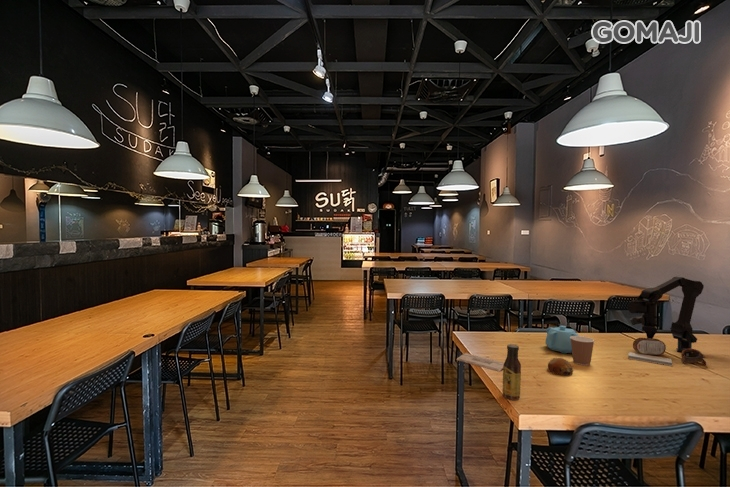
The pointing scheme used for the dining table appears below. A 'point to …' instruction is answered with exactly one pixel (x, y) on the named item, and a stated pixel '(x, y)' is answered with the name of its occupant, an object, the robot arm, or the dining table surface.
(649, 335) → the robot arm
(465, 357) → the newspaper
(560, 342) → the decorative pot
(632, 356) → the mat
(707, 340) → the dining table surface
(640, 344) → the tin
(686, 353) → the pottery mug
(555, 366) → the bread roll
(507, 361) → the sauce bottle
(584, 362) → the coffee cup
